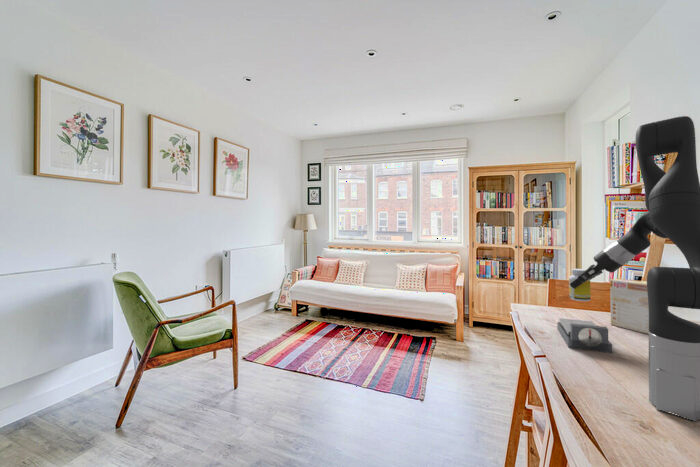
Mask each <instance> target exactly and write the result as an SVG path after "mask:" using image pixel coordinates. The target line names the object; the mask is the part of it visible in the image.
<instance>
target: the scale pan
mask: <svg viewBox="0 0 700 467" xmlns="http://www.w3.org/2000/svg"><path fill="white" fill-rule="evenodd" d="M558 322H560V323H561V325H562V326H563V328H564V329H565V331H566V332H567V334H568V335H570V323H571V324H582V325H592V326H597V325H596V324H595V323H594V322H593V320H581V319H571V318H570V319H568V318H561V317H560V318H558Z"/></svg>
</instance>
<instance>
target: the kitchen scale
mask: <svg viewBox="0 0 700 467" xmlns="http://www.w3.org/2000/svg"><path fill="white" fill-rule="evenodd" d="M556 330H557V331H558V332H559V334H560V337H562V339H563V341H564V342H565V344H566V346H567V347H568V348H570V349H577V350H586V351H593V352H601V353H608V354H609V353H611V354H613V344H612V343H611V341H610V340H609V329H608V327H607V326H601V325H600V326H599V325H596V326H592V325H582V324H571V323H570V335H568V334H567V332H566V331H565V329H564V328H563V326H562V325H561V323H560V322H559V321H557V328H556Z"/></svg>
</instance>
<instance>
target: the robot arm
mask: <svg viewBox="0 0 700 467" xmlns="http://www.w3.org/2000/svg"><path fill="white" fill-rule="evenodd" d="M694 123H695V122H694V121H693V119H692V118H691V117H689V116H686V115H683V116H676V117H672V118H666V119H663V120H658V121H652V122H649V123H646V124H642V125H640V126H638V128H637V129H636V131H635V149H636V154H637V161H638V165H639V166H638V167H639V170H640V173H641V177H642V182H643V186H644V202H645V208H646V210H647V211H646V212H644V213H643V214H641V216H639V218H638V219H637V220H636V222H635V223H634V224H633V225H632V227H631V228H630V229H629V231H628V232H627V233H626V234H624V235H623V236H622V237H620V238H619V239H617V240H616V241H614V242H612V243H611V244H609V245H608V246H606V247H605V248H604V249H602V250H601V251H599V252H598V253H597V254H596V255H595V256H593V260H594V262H595V263H596V264H592V265H591V264H590V266H588V268H586V269H585V271H584V272H583V273H582V275H580V276H578V278H577V279H576V280H574V281H573V282H572V283H570V286H571V287H572V288H574V289H575V288H576V287H578V286H579V285H581V284H582V283H585V281H587V280H590V281H591V280H592V279H595V278H596V277H598V276H600V275H602V274H603V273H604V272H603V271H604V270H605V271H607V272H608V273H610V274H611V273H614V272H616V271H618V270H619V269H620V268H622V267H623V266H625V265H626V264H628V263H629V262H630V261H632V259H634V258H636V256H637V255H640V254H641V253H642V252H644V251H645V250H646V249H648V248H649V247H650V246H651V245H652V244H651V240H649V237H648V236H649V234H650V233H653V235H655V236H656V237H658V238H661V239H668V240H670V241H671V243H672V244H674V245H675V247H676V248H678V249H679V251H680V252H681V254H682V255H683V257H684V258H685V260H686V262H687V264H688V267H671V266H653V267H651V268H649V270H648V272H647V275H646V282H647V293H648V305H649V334H648V401H649V403H652V404H651V405H653V406H654V407H655V406H656V407H655V409H656V410H657V409H659V410H658V411H660V410H662V411H661V412H663V411H666V412H671V413H674V414H677V415H679V416H682V417H685V418H687V419H686V420H688V419H690V420H689V421H691V420H693V422H695V421H700V324H699V323H697V322H693V321H690V320H687V319H685V318H683V317H680V316H678V315H676V314H674V313H672V312H671V311H669V307H672V308H682V309H692V310H700V179H699V174H698V167H697V166H698V165H697V146H696V145H697V144H696V128H695V125H694ZM674 153H677V154H676V156H675V159H674V161H673V163H672V164H671V166H670V168H669V169H668V170H667V172H666V171H665V170H663V169H662V168H660V166H659V165H657V163H656V162H655V160H654V157H655V156H662V155H667V154H668V155H669V154H674ZM582 276H585V277H586V278H587V279H584V278H583V277H582ZM666 412H665V413H666ZM679 416H678V417H679ZM682 417H681V418H682ZM685 418H684V419H685Z"/></svg>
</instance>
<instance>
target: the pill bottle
mask: <svg viewBox="0 0 700 467" xmlns="http://www.w3.org/2000/svg"><path fill="white" fill-rule="evenodd" d="M585 270H586V269H585V268H572V269H571V273H572V275H570V276H569V277H568V284H569V285H568V290H569V292H568V293H569V295H568V296H569V299H571V300H573V301H578V302H589V301H591V292H592V291H591V280H587V281H585V283H582V284H581V285H579V286H578V287H576V288H575V289H574V288H572V287H571V286H570V283H572V282H573V281H574V280H576V279H577V278H578V276H580V275H582V273H583V272H584V271H585ZM582 277H583V278H584V279H587V278H586V277H585V276H582Z"/></svg>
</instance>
